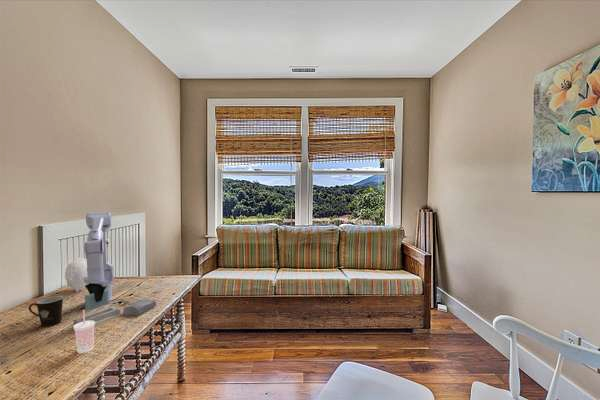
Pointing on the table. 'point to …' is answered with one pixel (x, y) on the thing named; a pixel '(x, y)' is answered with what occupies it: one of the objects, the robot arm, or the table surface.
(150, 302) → the stone block
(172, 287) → the table surface
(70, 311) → the table surface
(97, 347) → the table surface
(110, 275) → the robot arm
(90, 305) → the door panel
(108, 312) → the rectangular tray
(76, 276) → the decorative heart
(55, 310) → the coffee mug
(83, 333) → the beverage cup
